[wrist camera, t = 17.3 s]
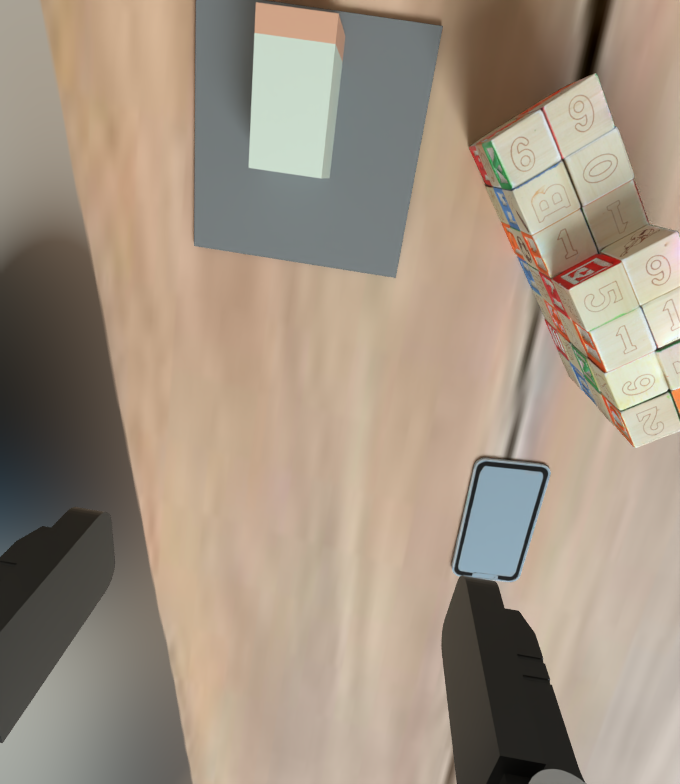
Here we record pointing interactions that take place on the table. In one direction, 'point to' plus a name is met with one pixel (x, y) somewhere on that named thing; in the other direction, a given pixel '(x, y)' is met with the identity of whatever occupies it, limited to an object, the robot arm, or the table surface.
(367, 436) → the table surface
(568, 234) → the stack of blocks
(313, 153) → the sage block
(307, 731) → the table surface
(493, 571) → the smartphone
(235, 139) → the charcoal mat
